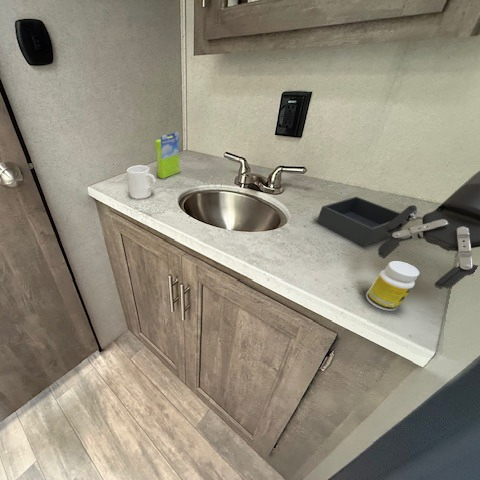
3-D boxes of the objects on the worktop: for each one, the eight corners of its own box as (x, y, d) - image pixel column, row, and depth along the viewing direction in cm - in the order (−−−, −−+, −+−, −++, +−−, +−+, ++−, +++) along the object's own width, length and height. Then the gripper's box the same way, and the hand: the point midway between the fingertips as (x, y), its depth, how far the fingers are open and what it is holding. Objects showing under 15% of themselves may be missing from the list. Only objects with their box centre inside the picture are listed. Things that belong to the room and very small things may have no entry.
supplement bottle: (397, 315, 43) (424, 282, 38) (364, 304, 46) (385, 270, 41) (396, 298, 46) (421, 265, 41) (366, 288, 49) (386, 255, 44)
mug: (149, 203, 85) (147, 176, 80) (125, 195, 92) (122, 170, 86) (163, 195, 90) (162, 169, 85) (140, 188, 97) (137, 163, 91)
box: (173, 170, 112) (172, 130, 102) (180, 172, 109) (179, 131, 99) (156, 177, 106) (153, 135, 96) (162, 179, 103) (160, 136, 94)
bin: (349, 211, 73) (356, 196, 70) (398, 233, 63) (409, 216, 60) (316, 222, 69) (322, 206, 66) (363, 247, 59) (372, 229, 56)
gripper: (435, 170, 42) (361, 240, 45) (574, 203, 31) (462, 292, 34) (436, 192, 46) (368, 255, 50) (557, 228, 35) (459, 305, 39)
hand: (406, 270), depth 42 cm, fingers open, 8 cm apart
